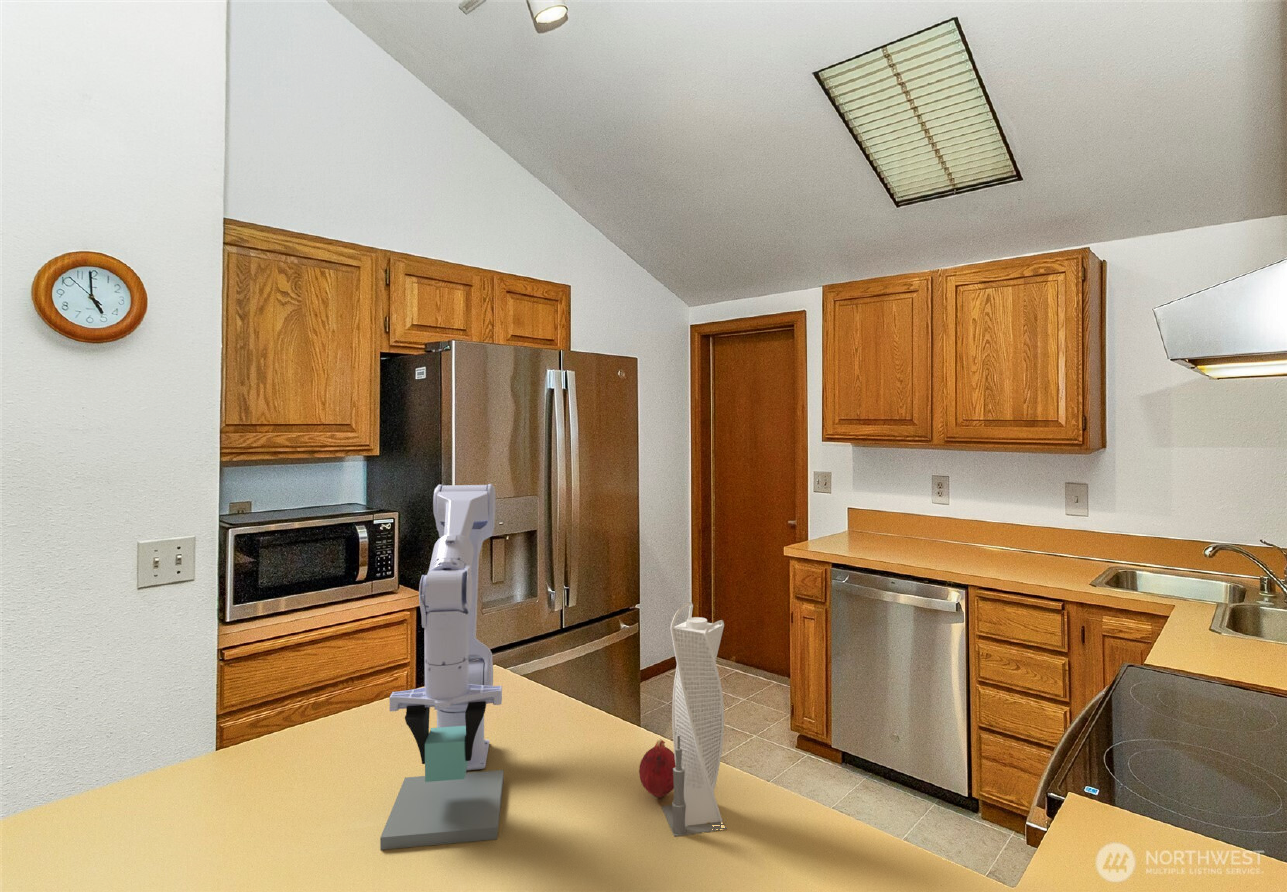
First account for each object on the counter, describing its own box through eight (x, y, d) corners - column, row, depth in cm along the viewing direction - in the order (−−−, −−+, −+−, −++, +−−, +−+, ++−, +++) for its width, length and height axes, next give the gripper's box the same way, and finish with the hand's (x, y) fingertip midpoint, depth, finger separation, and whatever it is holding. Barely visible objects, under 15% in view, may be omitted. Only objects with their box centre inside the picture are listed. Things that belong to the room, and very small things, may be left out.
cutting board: (405, 787, 97) (405, 777, 97) (503, 779, 99) (503, 769, 99) (380, 849, 82) (380, 837, 82) (496, 838, 84) (496, 827, 84)
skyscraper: (659, 803, 93) (658, 602, 93) (714, 797, 95) (714, 599, 95) (674, 838, 85) (673, 617, 85) (735, 830, 87) (734, 614, 86)
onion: (677, 810, 91) (676, 751, 91) (635, 806, 92) (635, 748, 92) (683, 789, 96) (682, 733, 96) (643, 785, 98) (643, 730, 98)
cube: (431, 763, 93) (431, 727, 93) (468, 761, 94) (468, 725, 94) (425, 781, 88) (424, 743, 88) (464, 778, 89) (464, 741, 89)
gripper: (383, 671, 86) (384, 777, 86) (499, 665, 88) (500, 768, 88) (395, 654, 93) (396, 752, 93) (502, 649, 95) (503, 745, 95)
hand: (447, 759), depth 91 cm, fingers closed on cube, 5 cm apart
